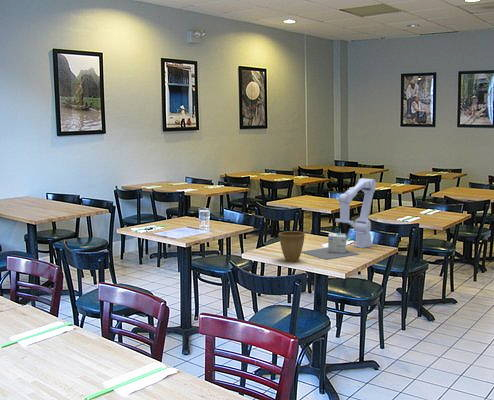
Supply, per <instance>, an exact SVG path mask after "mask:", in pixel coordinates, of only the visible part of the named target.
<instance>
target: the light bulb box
mask: <svg viewBox="0 0 494 400" xmlns="http://www.w3.org/2000/svg"><path fill="white" fill-rule="evenodd" d="M327 239H328V243H327V244H328V246H327V248H328V252H332V253H346V251H347V235H346V234H341V232H338V233H337V232H335V233H333V232H329V233H328V238H327Z"/></svg>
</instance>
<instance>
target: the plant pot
mask: <svg viewBox="0 0 494 400" xmlns="http://www.w3.org/2000/svg"><path fill="white" fill-rule="evenodd" d="M305 234H306V233H305V232H303V231H296V230H295V231H294V230H289V231H281V232H279V233H278V237H279V242H280V243H279V244H280V248H281V252H282V254H283V257H284V260H285V262H289V263H291V262H292V263H295V262H299V259H300V257H301V255H302V253H301V251H303V247H304V242H305V236H306V235H305Z"/></svg>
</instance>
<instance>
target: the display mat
mask: <svg viewBox="0 0 494 400" xmlns="http://www.w3.org/2000/svg"><path fill="white" fill-rule="evenodd" d="M301 254H306V255H310V256H311V257H312V256H313V257H315V258H319V259H322V260H326V261H328V260H333V259H334V260H335V259H340V258H346V257H352V256H358V255H360V253H358V252H353V251H349V250H346V253H332V252H328V247H322V248H317V249H316V248H315V249H310V250H302V251H301Z"/></svg>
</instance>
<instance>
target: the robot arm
mask: <svg viewBox="0 0 494 400" xmlns="http://www.w3.org/2000/svg"><path fill="white" fill-rule="evenodd" d="M376 188H377V182H376V180H375V178H363V177H361V178H359V179H358V181H357V183H356V184H355V186H354V187H349V188H348V190H346V191H345V192H344V193H341V194H340V195H339V196H338V199H337V200H338V203H339V206H340V207H339V208H340V209H339V218H335V223H337V226H338V228H339V231H340V232H339V233H340V234H346V236H348V235H349V232H350V229H351V227H352V226H353V231H354V232H355V244H353V245H352V247H357V248H359V249H363V248H365V249H366V248H370V247H372V235H371V233H370V231H371V229H372V228H371V227H372V225H371V224H372V223H371V221H370V220H369V215H370V211H371V206H372V202H373V197H374V193H375V191H376ZM359 191H362V192H363V193H364V196H363V201H362V205H361V209H360V215H359V217H358V218H356V219H355V222H354V221H353V220H351V219H350V208H351V207H350V205H351V203H352V201H353V198H355V197H356V196H357V195H358V192H359Z"/></svg>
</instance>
